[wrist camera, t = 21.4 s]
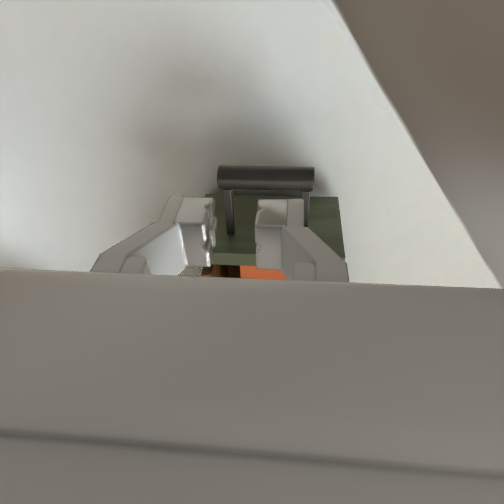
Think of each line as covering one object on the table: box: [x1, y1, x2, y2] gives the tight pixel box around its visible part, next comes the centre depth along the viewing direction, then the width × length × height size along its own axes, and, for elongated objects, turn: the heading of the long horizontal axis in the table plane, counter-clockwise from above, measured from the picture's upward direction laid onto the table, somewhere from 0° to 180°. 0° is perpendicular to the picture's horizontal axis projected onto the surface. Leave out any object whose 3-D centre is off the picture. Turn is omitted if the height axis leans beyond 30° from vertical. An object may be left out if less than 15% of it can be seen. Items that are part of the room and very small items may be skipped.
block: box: [240, 265, 287, 280], centre depth 35 cm, size 4×4×4 cm
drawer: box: [201, 166, 345, 278], centre depth 34 cm, size 19×11×8 cm, turn 2°
